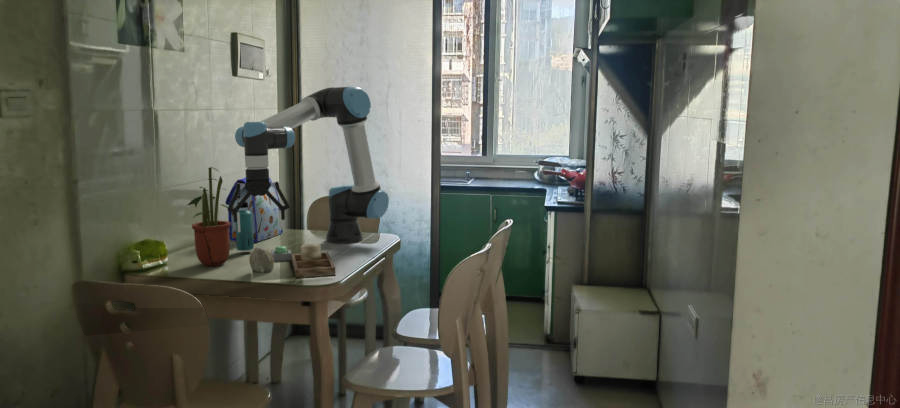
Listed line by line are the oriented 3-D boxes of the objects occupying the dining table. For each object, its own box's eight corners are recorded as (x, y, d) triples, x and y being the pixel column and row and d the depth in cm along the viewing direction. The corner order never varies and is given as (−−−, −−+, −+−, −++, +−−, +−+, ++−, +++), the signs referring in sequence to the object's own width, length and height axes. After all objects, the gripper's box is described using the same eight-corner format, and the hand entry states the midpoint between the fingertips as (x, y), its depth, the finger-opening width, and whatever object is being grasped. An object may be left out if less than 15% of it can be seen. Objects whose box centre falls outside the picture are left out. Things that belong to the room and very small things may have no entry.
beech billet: (320, 259, 252) (319, 243, 251) (322, 264, 245) (321, 247, 244) (300, 261, 250) (300, 244, 249) (301, 265, 243) (301, 248, 242)
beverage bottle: (249, 254, 266) (246, 203, 263) (233, 254, 267) (230, 202, 265) (257, 251, 272) (254, 200, 270) (241, 250, 274) (239, 200, 271)
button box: (290, 258, 259) (290, 249, 258) (291, 262, 252) (291, 253, 251) (271, 259, 257) (271, 250, 256) (272, 264, 250) (271, 254, 250)
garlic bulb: (270, 281, 234) (272, 256, 230) (245, 278, 234) (246, 253, 229) (276, 267, 243) (278, 242, 239) (251, 264, 242) (253, 239, 238)
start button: (286, 256, 257) (286, 245, 256) (287, 258, 253) (286, 248, 252) (275, 257, 256) (275, 246, 255) (276, 259, 252) (275, 248, 251)
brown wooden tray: (328, 260, 255) (327, 252, 255) (335, 276, 231) (335, 267, 231) (291, 262, 252) (291, 254, 251) (295, 279, 228) (295, 270, 228)
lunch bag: (251, 232, 314) (248, 173, 310) (285, 233, 310) (282, 173, 306) (223, 242, 292) (220, 178, 288) (259, 243, 288) (256, 179, 284)
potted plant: (200, 260, 256) (194, 166, 251) (243, 259, 257) (238, 165, 252) (185, 272, 239) (178, 171, 234) (231, 271, 240) (225, 170, 235)
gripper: (294, 165, 239) (297, 226, 242) (218, 168, 232) (222, 230, 235) (295, 167, 232) (298, 230, 235) (217, 170, 225) (220, 234, 228)
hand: (260, 230), depth 235 cm, fingers open, 13 cm apart
